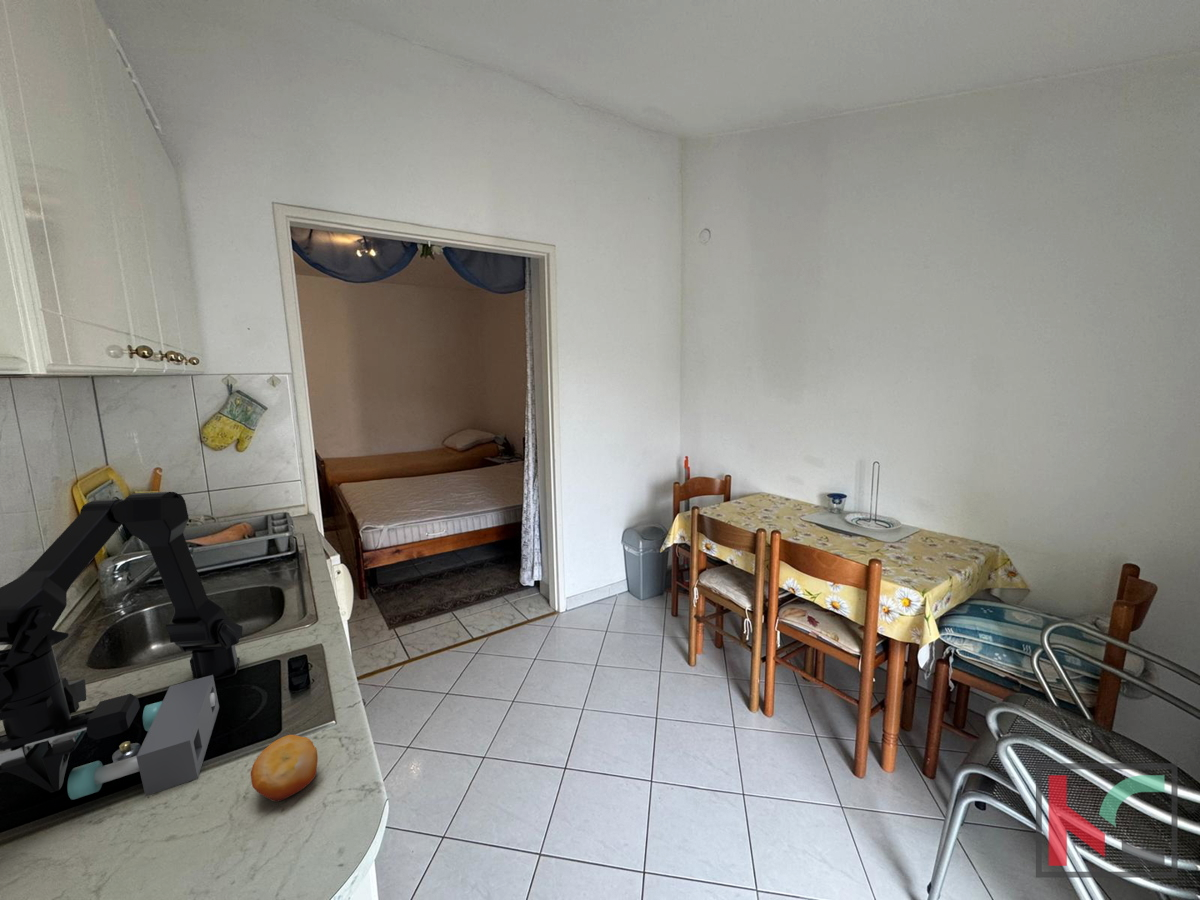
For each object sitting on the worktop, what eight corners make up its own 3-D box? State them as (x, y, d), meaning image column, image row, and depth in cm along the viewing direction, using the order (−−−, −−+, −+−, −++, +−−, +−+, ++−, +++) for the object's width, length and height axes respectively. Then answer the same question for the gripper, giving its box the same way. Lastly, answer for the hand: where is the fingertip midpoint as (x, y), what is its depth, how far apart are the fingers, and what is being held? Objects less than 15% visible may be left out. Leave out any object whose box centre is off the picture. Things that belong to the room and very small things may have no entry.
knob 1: (162, 760, 76) (157, 737, 75) (155, 778, 73) (149, 754, 72) (83, 785, 72) (77, 761, 71) (71, 806, 69) (64, 781, 68)
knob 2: (217, 702, 89) (213, 682, 88) (213, 716, 85) (209, 695, 85) (153, 721, 85) (148, 700, 84) (145, 736, 81) (141, 714, 81)
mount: (219, 707, 90) (213, 674, 89) (197, 778, 74) (189, 740, 73) (176, 719, 87) (169, 686, 86) (145, 796, 72) (136, 756, 70)
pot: (146, 753, 80) (141, 733, 79) (140, 767, 77) (135, 746, 76) (119, 762, 78) (114, 741, 77) (112, 776, 75) (107, 755, 75)
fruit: (306, 742, 79) (308, 716, 75) (323, 789, 75) (325, 765, 71) (245, 772, 73) (243, 746, 69) (259, 825, 69) (258, 801, 65)
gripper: (140, 638, 78) (160, 727, 81) (-36, 678, 69) (-7, 775, 72) (114, 677, 68) (137, 776, 71) (-95, 729, 59) (-59, 839, 62)
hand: (57, 789), depth 69 cm, fingers closed
